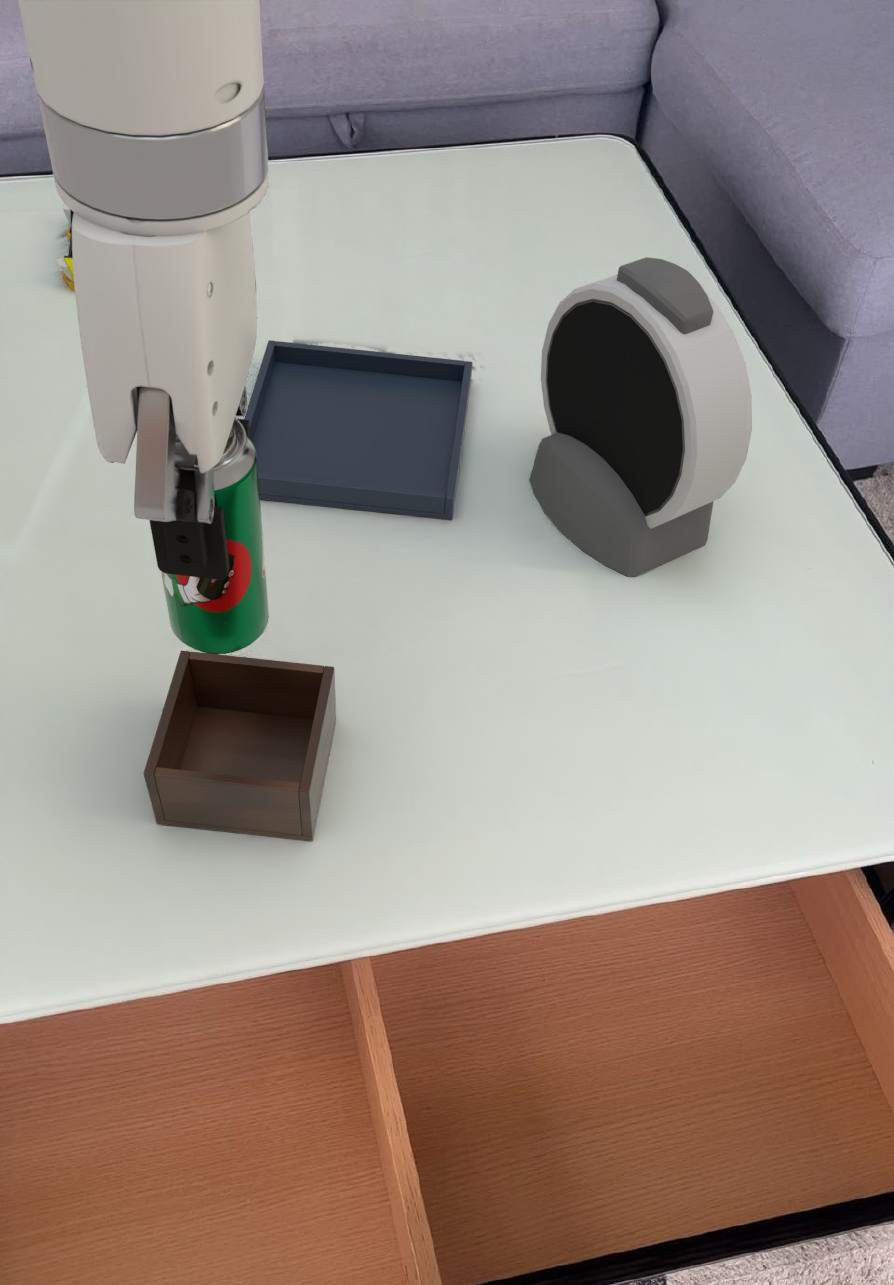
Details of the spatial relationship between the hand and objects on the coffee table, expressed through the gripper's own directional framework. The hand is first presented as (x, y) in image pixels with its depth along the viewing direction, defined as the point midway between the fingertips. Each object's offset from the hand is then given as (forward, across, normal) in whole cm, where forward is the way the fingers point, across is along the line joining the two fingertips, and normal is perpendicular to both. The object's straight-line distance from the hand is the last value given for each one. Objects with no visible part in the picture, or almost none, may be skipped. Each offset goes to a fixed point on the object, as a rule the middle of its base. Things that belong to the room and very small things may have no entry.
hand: (207, 525), depth 56 cm
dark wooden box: (+19, 0, +1) cm, 19 cm away
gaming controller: (+20, -50, -19) cm, 57 cm away
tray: (+19, -32, +3) cm, 37 cm away
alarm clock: (+19, -27, +23) cm, 40 cm away
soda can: (+7, 0, 0) cm, 7 cm away
